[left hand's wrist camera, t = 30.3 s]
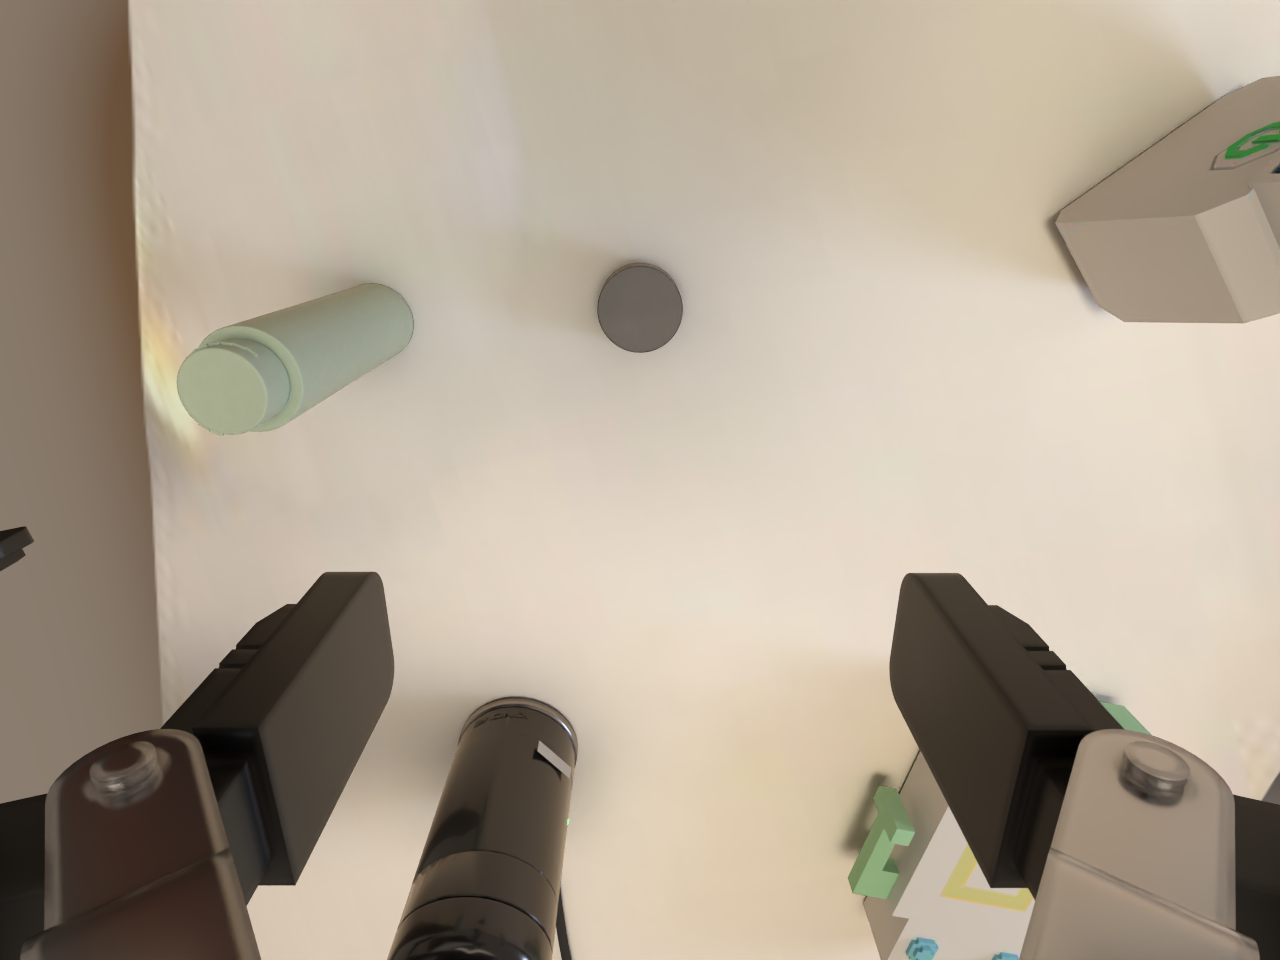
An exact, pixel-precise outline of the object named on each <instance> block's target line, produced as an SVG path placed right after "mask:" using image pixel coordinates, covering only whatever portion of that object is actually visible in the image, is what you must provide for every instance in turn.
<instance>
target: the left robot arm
mask: <svg viewBox="0 0 1280 960" xmlns="http://www.w3.org/2000/svg"><path fill="white" fill-rule="evenodd" d="M393 678H394V656H393V649H392V642H391V635H390V628H389V622H388V615H387V608H386V601H385V594H384V588H383V583H382V580H381V578H380V576H379V574H378V573H376V572H325V573H323V574H322V575H321V576H320V577H319V578H318V580H317V581H316V582H315V583H314V584H313V586H312V587H311V588H310V589H309V590H308V591H307V593H306V594H305V595H304V596H303V597H302V598H301V600H300V601H299V602H298V603H297V604H287V605H285V606H283V607H282V608H280V609H278V610H277V611H275V612H274V613H272V614H270V615H269V616H267V617H265V618H264V619H262V620H260V621H259V622H257V623H256V624H255V625H254V626H253V627H252V628H251V629H250V630H249V632H248V633H247V634H246V635H245V636H244V637H243V638H242V639H241V640H240V641H239V643H238V644H237V645H236V650H231V651H230V653H229V654H228V655H227V656H226V657H225V658H224V659H223V660H222V661H221V662H220V664H219V668H215V669H214V670H213V671H212V672H211V673H210V675H209V676H208V677H207V678H206V679H205V680H204V681H203V682H202V683H201V684H200V686H199V687H198V688H197V689H196V690H195V691H194V692H193V693H192V694H191V695H190V697H189V698H188V699H187V700H186V701H185V702H184V703H183V704H182V705H181V707H180V708H179V709H178V710H177V711H176V712H175V713H174V714H173V715H172V716H171V718H170V719H169V720H168V721H167V722H166V723H165V724H164V725H163V726H162V727H161V729H157V730H150V731H144V732H140V733H135V734H132V735H128V736H125V737H122V738H119V739H117V740H114V741H112V742H109V743H107V744H105V745H103V746H101V747H99V748H97V749H95V750H93V751H92V752H90V753H88V754H86V755H85V756H83V757H82V758H80V759H79V760H77V761H76V762H75V763H73V764H72V765H71V766H70V767H69V768H67V769H66V770H65V771H64V772H63V773H62V774H61V775H60V776H59V777H58V778H57V779H56V781H55V782H54V783H53V785H52V786H51V788H50V790H49V792H48V794H43V795H39V796H34V797H30V798H25V799H20V800H16V801H11V802H6V803H2V804H0V960H261V957H260V954H259V950H258V947H257V943H256V939H255V936H254V932H253V929H252V925H251V921H250V918H249V914H248V911H247V907H246V906H247V904H248V902H249V901H250V899H251V897H252V895H253V893H254V892H255V890H256V888H257V886H258V885H296V883H297V881H298V879H299V877H300V875H301V873H302V871H303V869H304V867H305V865H306V863H307V861H308V859H309V857H310V855H311V853H312V851H313V849H314V847H315V845H316V843H317V841H318V839H319V837H320V835H321V833H322V831H323V829H324V827H325V825H326V823H327V821H328V819H329V817H330V815H331V813H332V811H333V809H334V807H335V805H336V803H337V801H338V799H339V797H340V795H341V793H342V791H343V789H344V787H345V785H346V783H347V781H348V779H349V777H350V775H351V773H352V771H353V769H354V767H355V765H356V763H357V761H358V759H359V757H360V755H361V753H362V751H363V749H364V747H365V745H366V743H367V741H368V739H369V738H370V736H371V734H372V732H373V730H374V728H375V726H376V724H377V722H378V720H379V718H380V716H381V714H382V712H383V710H384V708H385V706H386V704H387V702H388V699H389V697H390V694H391V690H392V685H393ZM890 682H891V688H892V692H893V696H894V699H895V701H896V703H897V705H898V707H899V709H900V711H901V713H902V715H903V717H904V719H905V721H906V723H907V725H908V727H909V729H910V731H911V733H912V735H913V737H914V739H915V741H916V743H917V745H918V747H919V749H920V751H921V753H922V755H923V756H924V758H925V760H926V762H927V764H928V766H929V768H930V770H931V772H932V774H933V776H934V778H935V780H936V782H937V784H938V786H939V788H940V790H941V792H942V794H943V796H944V798H945V800H946V802H947V804H948V806H949V808H950V809H951V811H952V813H953V815H954V817H955V819H956V821H957V823H958V825H959V827H960V829H961V831H962V833H963V835H964V837H965V839H966V841H967V843H968V845H969V847H970V849H971V851H972V853H973V855H974V857H975V859H976V861H977V862H978V864H979V866H980V868H981V870H982V872H983V874H984V876H985V878H986V880H987V882H988V884H989V886H990V888H1028V889H1029V891H1030V893H1031V894H1032V896H1033V898H1034V900H1035V903H1034V907H1033V911H1032V914H1031V918H1030V921H1029V925H1028V929H1027V932H1026V936H1025V939H1024V943H1023V946H1022V950H1021V954H1020V957H1019V960H1280V805H1278V804H1273V803H1268V802H1264V801H1259V800H1255V799H1250V798H1245V797H1241V796H1237V795H1233V794H1232V792H1231V790H1230V788H1229V786H1228V785H1227V783H1226V782H1225V781H1224V779H1223V778H1222V777H1221V776H1220V775H1219V774H1218V773H1217V772H1216V771H1215V770H1214V769H1213V768H1211V767H1210V766H1209V765H1208V764H1207V763H1205V762H1204V761H1203V760H1201V759H1200V758H1198V757H1197V756H1195V755H1194V754H1192V753H1190V752H1188V751H1187V750H1185V749H1183V748H1181V747H1179V746H1177V745H1175V744H1173V743H1171V742H1168V741H1166V740H1163V739H1161V738H1158V737H1155V736H1152V735H1148V734H1145V733H1141V732H1136V731H1131V730H1125V729H1124V728H1123V727H1122V726H1121V725H1120V724H1119V723H1118V722H1117V721H1116V719H1115V718H1114V717H1113V716H1112V715H1111V714H1110V713H1109V712H1108V711H1107V710H1106V709H1105V707H1104V706H1103V705H1102V704H1101V703H1100V702H1099V701H1098V700H1097V699H1096V698H1095V697H1094V695H1093V694H1092V693H1091V692H1090V691H1089V690H1088V689H1087V688H1086V687H1085V686H1084V684H1083V683H1082V682H1081V681H1080V680H1079V679H1078V678H1077V677H1076V676H1075V675H1074V674H1073V672H1072V671H1071V670H1066V665H1065V664H1064V663H1063V662H1062V660H1061V659H1060V658H1059V657H1058V656H1057V655H1056V654H1055V653H1054V652H1053V651H1049V646H1048V645H1047V644H1046V643H1045V642H1044V641H1043V640H1042V639H1041V638H1040V636H1039V635H1038V634H1037V633H1036V632H1035V631H1034V630H1033V629H1032V628H1031V627H1030V626H1029V624H1027V623H1025V622H1024V621H1022V620H1020V619H1019V618H1017V617H1015V616H1014V615H1012V614H1011V613H1009V612H1007V611H1006V610H1004V609H1002V608H1001V607H999V606H997V605H987V604H986V603H985V601H984V600H983V599H982V598H981V597H980V596H979V594H978V593H977V592H976V591H975V590H974V589H973V587H972V586H971V585H970V584H969V583H968V582H967V580H966V579H965V578H964V577H963V576H962V575H961V574H959V573H909V574H907V575H906V576H905V577H904V579H903V581H902V584H901V588H900V595H899V601H898V608H897V615H896V622H895V629H894V635H893V642H892V649H891V656H890Z"/></svg>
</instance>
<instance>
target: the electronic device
mask: <svg viewBox="0 0 1280 960" xmlns="http://www.w3.org/2000/svg"><path fill="white" fill-rule="evenodd" d="M1055 224H1056V226H1057V228H1058V230H1059V232H1060V234H1061V236H1062V238H1063V240H1064V241H1065V243H1066V245H1067V247H1068V249H1069V251H1070V253H1071V255H1072V257H1073V259H1074V260H1075V262H1076V264H1077V266H1078V268H1079V270H1080V272H1081V274H1082V276H1083V278H1084V279H1085V281H1086V283H1087V285H1088V287H1089V289H1090V291H1091V293H1092V295H1093V297H1094V298H1095V300H1096V302H1097V304H1098V306H1099V307H1101V308H1103V309H1104V310H1106V311H1108V312H1109V313H1111V314H1112V315H1114V316H1116V317H1117V318H1119V319H1120V320H1122V321H1124V322H1175V323H1246V322H1250V321H1254V320H1257V319H1261V318H1264V317H1268V316H1271V315H1275V314H1278V313H1280V76H1275V77H1267V78H1262V79H1259V80H1257V81H1255V82H1253V83H1251V84H1249V85H1246V86H1244V87H1242V88H1240V89H1238V90H1236V91H1233V92H1231V93H1229V94H1227V95H1225V96H1223V97H1222V98H1220V99H1219V100H1217V101H1216V102H1215V103H1213V104H1212V105H1210V106H1209V107H1208V108H1206V109H1205V110H1203V111H1202V112H1200V113H1199V114H1198V115H1196V116H1195V117H1193V118H1192V119H1190V120H1189V121H1188V122H1186V123H1185V124H1183V125H1182V126H1181V127H1179V128H1178V129H1176V130H1175V131H1173V132H1172V133H1171V134H1169V135H1168V136H1166V137H1165V138H1163V139H1162V140H1161V141H1159V142H1158V143H1156V144H1155V145H1153V146H1152V147H1151V148H1149V149H1148V150H1146V151H1145V152H1144V153H1142V154H1141V155H1139V156H1138V157H1136V158H1135V159H1134V160H1132V161H1131V162H1129V163H1128V164H1126V165H1125V166H1124V167H1122V168H1121V169H1119V170H1118V171H1117V172H1115V173H1114V174H1112V175H1111V176H1109V177H1108V178H1107V179H1105V180H1104V181H1102V182H1101V183H1099V184H1098V185H1097V186H1095V187H1094V188H1092V189H1091V190H1089V191H1088V192H1087V193H1085V194H1084V195H1082V196H1081V197H1080V198H1078V199H1077V200H1075V201H1074V202H1072V203H1071V204H1070V205H1068V206H1067V207H1065V208H1064V209H1062V210H1061V212H1060V214H1059V216H1058V218H1057V220H1056V222H1055Z"/></svg>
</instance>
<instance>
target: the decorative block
mask: <svg viewBox="0 0 1280 960" xmlns="http://www.w3.org/2000/svg"><path fill="white" fill-rule="evenodd" d="M1099 702H1100V703H1101V704H1102V705H1103V706H1104V707H1105V709H1106V710H1107V711H1108V712H1109V713H1110V714H1111V715H1112V716H1113V717H1114V718H1115V719H1116V721H1117V722H1118V723H1119V724H1120V725H1121V726H1122V727H1123V728H1124V729H1125V730H1131V731H1136V732H1141V733H1145V734H1148V735H1151V734H1150V733H1149V732H1148V731H1147V730H1146V729H1145V728H1144V727H1143V726H1142V725H1141V723H1140V722H1139V721H1138V720H1137V719H1136V718H1135V717H1134V716H1133V715H1132V714H1131V713H1130V712H1129V711H1128V710H1127V709H1126V708H1125V707H1124V706H1120V705H1115V704H1110V703H1106V702H1101V701H1099ZM873 800H874V802H875V805H876V807H877V810H878V815H877V817H876V819H875V821H874V824H873V826H872V828H871V830H870V832H869V834H868V836H867V838H866V841H865V843H864V845H863V847H862V849H861V851H860V853H859V855H858V857H857V860H856V862H855V864H854V866H853V868H852V870H851V872H850V874H849V877H848V879H849V883H850V886H851V889H852V892H853V893H854V894H860V895H865V896H867V897H866V900H865V902H864V908H865V911H866V914H867V917H868V920H869V923H870V927H871V930H872V933H873V936H874V939H875V942H876V945H877V949H878V952H879V955H880V958H881V960H1019V957H1020V954H1021V950H1022V946H1023V943H1024V939H1025V936H1026V932H1027V929H1028V925H1029V921H1030V918H1031V914H1032V911H1033V907H1034V903H1035V900H1034V898H1033V896H1032V894H1031V893H1030V891H1029V889H1028V888H990V886H989V884H988V882H987V880H986V878H985V876H984V874H983V872H982V870H981V868H980V866H979V864H978V862H977V861H976V859H975V857H974V855H973V853H972V851H971V849H970V847H969V845H968V843H967V841H966V839H965V837H964V835H963V833H962V831H961V829H960V827H959V825H958V823H957V821H956V819H955V817H954V815H953V813H952V811H951V809H950V808H949V806H948V804H947V802H946V800H945V798H944V796H943V794H942V792H941V790H940V788H939V786H938V784H937V782H936V780H935V778H934V776H933V774H932V772H931V770H930V768H929V766H928V764H927V762H926V760H925V758H924V756H923V755H922V753H921V751H920V752H919V755H918V757H917V759H916V761H915V763H914V765H913V767H912V769H911V771H910V773H909V775H908V777H907V780H906V782H905V784H904V786H903V788H902V790H901V792H900V794H898V791H897V789H896V788H891V787H885V786H880V785H879V787H878V789H877V792H876V794H875V796H874V798H873Z"/></svg>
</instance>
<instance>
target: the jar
mask: <svg viewBox="0 0 1280 960" xmlns="http://www.w3.org/2000/svg"><path fill="white" fill-rule="evenodd" d="M412 333H413V317H412V314H411V311H410V309H409V306H408V305H407V303H406V302H405V300H404V299H403V298H402V297H401V296H400V295H399V294H398V293H397V292H395V291H394V290H392V289H391V288H388V287H386V286H383V285H380V284H365V285H361V286H357V287H354V288H351V289H348V290H344V291H341V292H338V293H334V294H331V295H328V296H325V297H321V298H318V299H315V300H312V301H308V302H305V303H302V304H299V305H295V306H292V307H289V308H285V309H282V310H279V311H276V312H272V313H269V314H266V315H263V316H259V317H256V318H253V319H250V320H246V321H243V322H240V323H236V324H233V325H230V326H227V327H223V328H221V329H218V330H216V331H214V332H213V333H211V334H210V335H209V336H207V337H206V338H205V339H204V341H203V342H202V343H201V345H200V346H199V348H197V349H195V350H194V351H193V352H192V353H191V354H190V355H189V356H188V357H186V359H185V360H184V362H183V363H182V365H181V367H180V369H179V372H178V376H177V389H178V394H179V397H180V400H181V402H182V404H183V406H184V407H185V409H186V410H187V412H188V413H189V414H190V416H191V417H192V418H194V419H195V420H196V421H197V422H198V423H199V425H200V426H202V427H204V428H206V429H208V430H209V432H212V433H215V434H219V435H222V436H223V435H224V434H230V435H235V434H242V433H245V432H248V431H255V432H263V431H270V430H274V429H277V428H280V427H281V426H283V425H285V424H287V423H288V422H290V421H291V420H293V419H295V418H296V417H298V416H299V415H301V414H302V413H304V412H306V411H307V410H309V409H310V408H312V407H314V406H315V405H317V404H318V403H320V402H321V401H323V400H325V399H326V398H328V397H329V396H331V395H332V394H334V393H336V392H337V391H339V390H340V389H342V388H344V387H345V386H347V385H348V384H350V383H351V382H353V381H355V380H356V379H358V378H359V377H361V376H363V375H364V374H366V373H367V372H369V371H370V370H372V369H374V368H375V367H377V366H378V365H380V364H381V363H383V362H385V361H386V360H388V359H389V358H391V357H393V356H394V355H396V354H397V353H399V352H400V351H402V350H403V349H404V348H405V347H406V346H407V344H408V343H409V341H410V339H411V336H412Z"/></svg>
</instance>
